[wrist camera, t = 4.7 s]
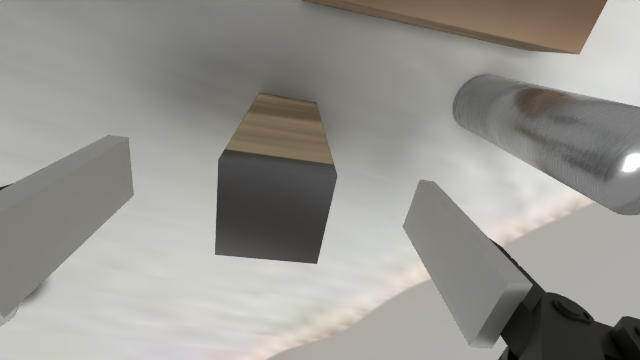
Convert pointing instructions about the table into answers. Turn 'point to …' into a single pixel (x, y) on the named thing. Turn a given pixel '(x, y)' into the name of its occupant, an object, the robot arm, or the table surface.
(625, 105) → the round bit
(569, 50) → the bore block
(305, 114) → the square bit
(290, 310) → the table surface
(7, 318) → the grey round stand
